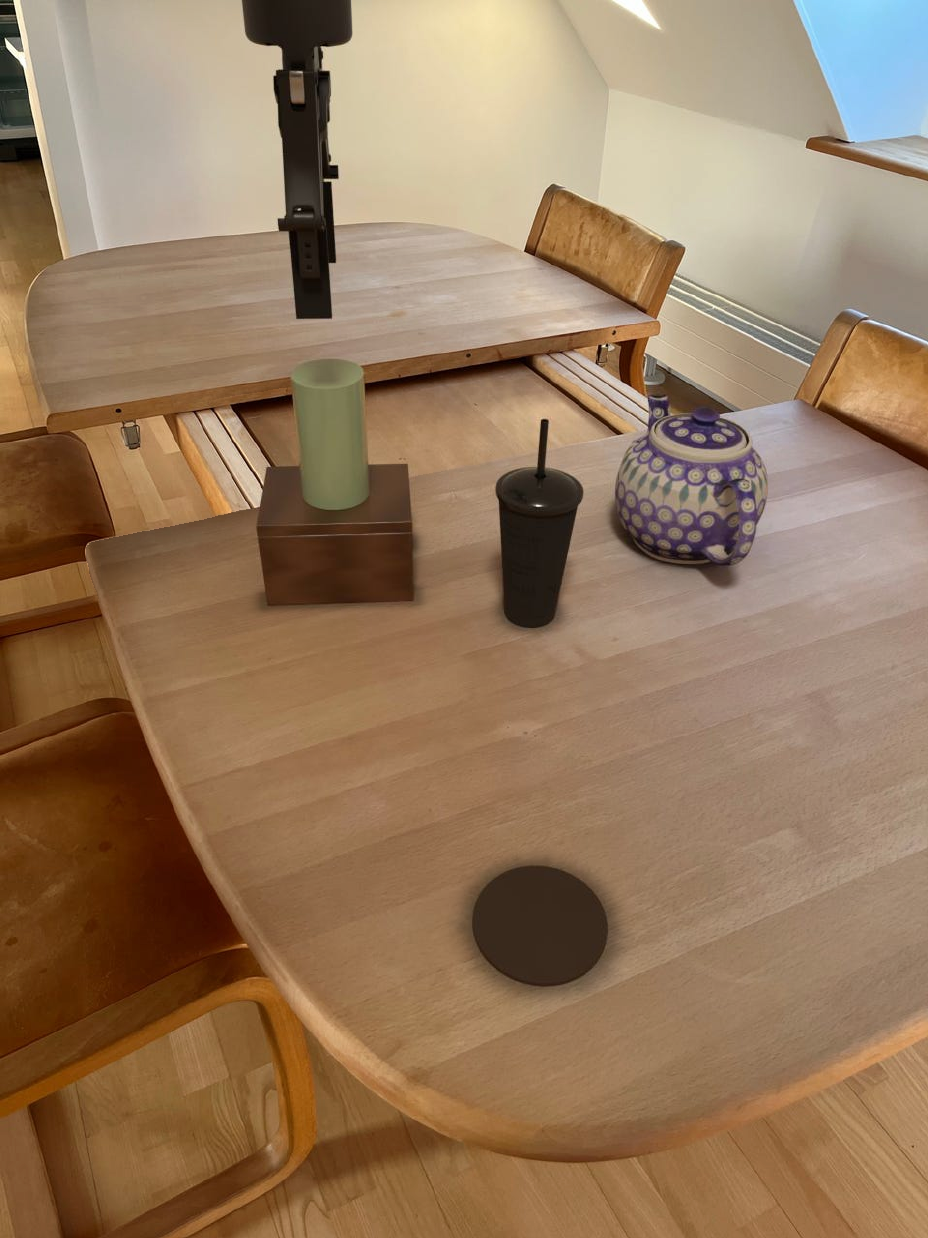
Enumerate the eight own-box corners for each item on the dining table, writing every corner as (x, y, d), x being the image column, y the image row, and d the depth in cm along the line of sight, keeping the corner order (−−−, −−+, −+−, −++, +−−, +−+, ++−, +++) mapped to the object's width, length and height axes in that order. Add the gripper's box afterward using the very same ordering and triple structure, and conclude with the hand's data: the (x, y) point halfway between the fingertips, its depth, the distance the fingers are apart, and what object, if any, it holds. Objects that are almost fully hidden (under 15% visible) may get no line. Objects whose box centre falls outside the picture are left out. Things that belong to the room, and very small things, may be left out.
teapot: (798, 603, 92) (839, 466, 82) (648, 615, 89) (673, 477, 80) (706, 477, 111) (731, 355, 102) (581, 484, 109) (595, 361, 100)
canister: (300, 511, 86) (287, 388, 79) (303, 477, 91) (292, 358, 84) (370, 509, 87) (364, 387, 79) (369, 475, 92) (364, 357, 84)
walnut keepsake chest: (267, 605, 90) (256, 525, 84) (275, 542, 98) (266, 466, 93) (413, 600, 91) (412, 521, 85) (409, 538, 99) (407, 463, 94)
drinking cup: (491, 637, 86) (501, 441, 74) (487, 588, 92) (496, 400, 80) (573, 637, 87) (597, 442, 74) (564, 589, 93) (585, 400, 80)
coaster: (479, 991, 59) (479, 987, 58) (466, 872, 66) (467, 868, 65) (620, 981, 59) (621, 978, 59) (593, 865, 66) (593, 861, 66)
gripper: (347, -9, 55) (363, 344, 68) (351, -35, 74) (363, 242, 87) (216, -12, 54) (258, 345, 67) (255, -38, 74) (282, 242, 87)
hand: (317, 288), depth 77 cm, fingers open, 13 cm apart
